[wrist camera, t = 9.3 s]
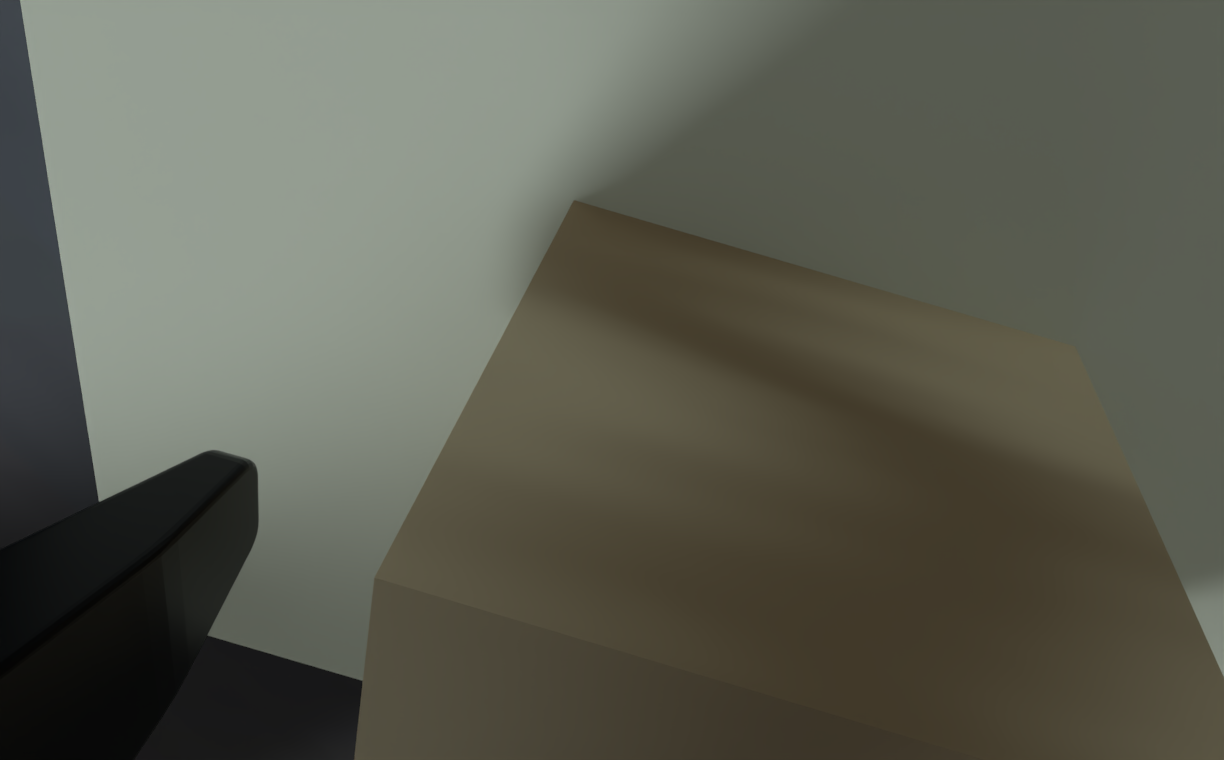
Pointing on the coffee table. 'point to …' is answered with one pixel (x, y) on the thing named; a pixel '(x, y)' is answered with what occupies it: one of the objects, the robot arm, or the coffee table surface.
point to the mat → (616, 181)
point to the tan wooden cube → (776, 535)
